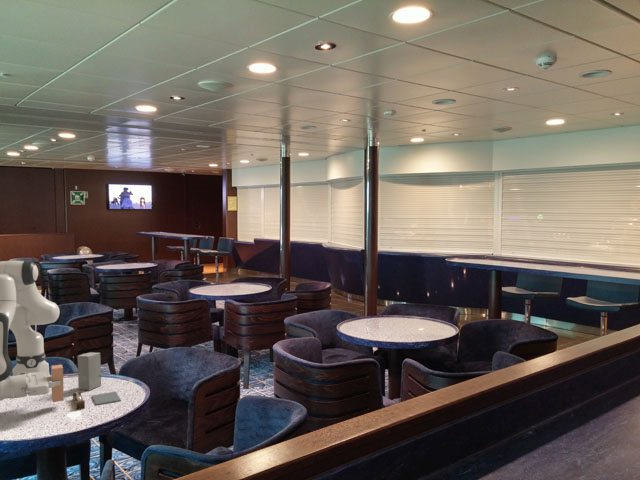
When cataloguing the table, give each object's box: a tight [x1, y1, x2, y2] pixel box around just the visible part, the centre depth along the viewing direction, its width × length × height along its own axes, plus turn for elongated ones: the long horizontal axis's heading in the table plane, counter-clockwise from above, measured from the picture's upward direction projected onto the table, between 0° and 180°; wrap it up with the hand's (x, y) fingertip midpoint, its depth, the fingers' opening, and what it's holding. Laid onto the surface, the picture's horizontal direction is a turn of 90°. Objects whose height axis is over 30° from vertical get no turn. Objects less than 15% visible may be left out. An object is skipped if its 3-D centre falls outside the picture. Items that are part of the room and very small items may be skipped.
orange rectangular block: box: [50, 364, 65, 403], centre depth 216 cm, size 5×4×14 cm
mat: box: [91, 391, 121, 406], centre depth 227 cm, size 12×10×1 cm
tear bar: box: [72, 390, 86, 410], centre depth 221 cm, size 14×3×3 cm, turn 31°
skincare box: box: [76, 351, 102, 391], centre depth 241 cm, size 8×7×16 cm
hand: (59, 380), depth 217 cm, fingers closed on orange rectangular block, 5 cm apart
